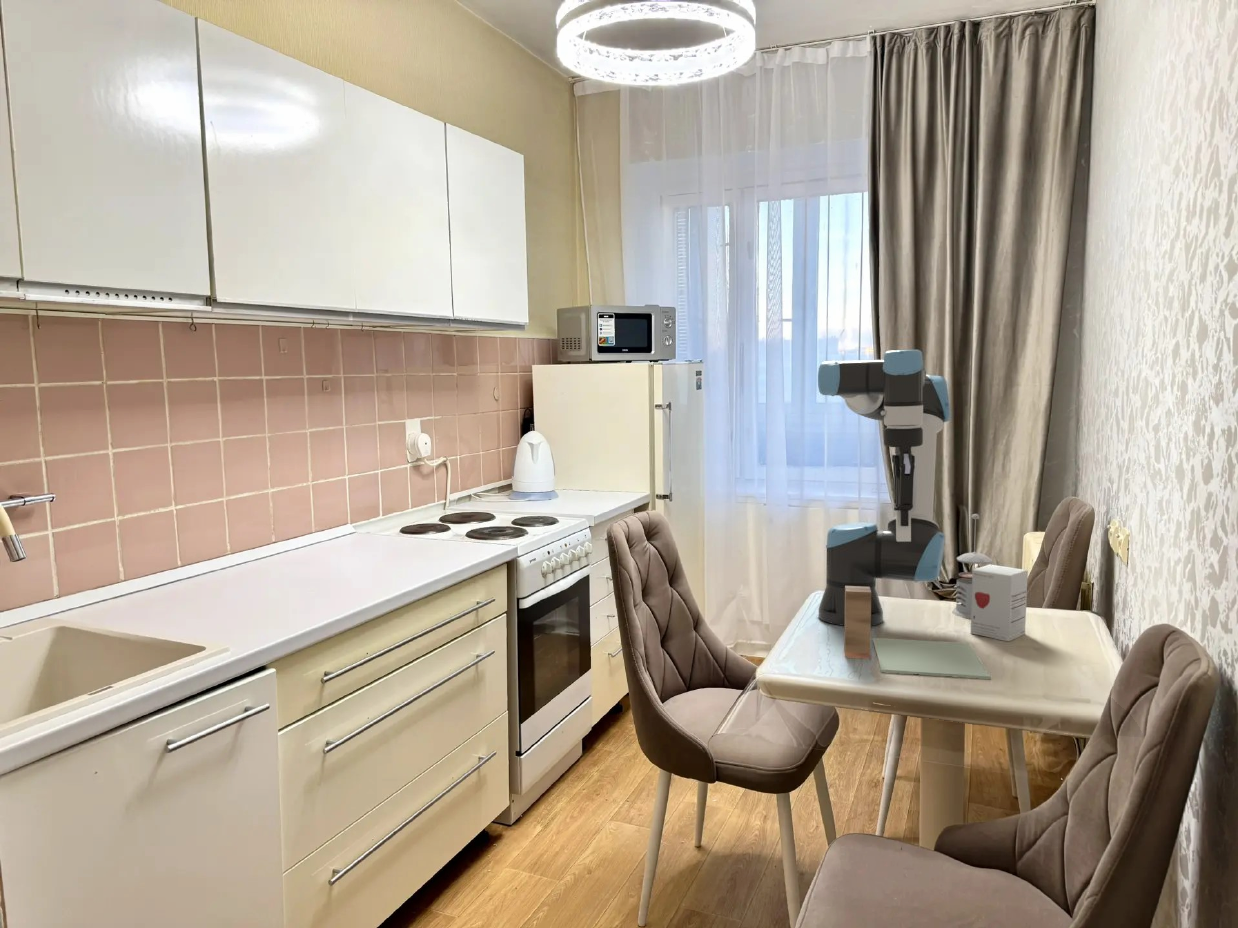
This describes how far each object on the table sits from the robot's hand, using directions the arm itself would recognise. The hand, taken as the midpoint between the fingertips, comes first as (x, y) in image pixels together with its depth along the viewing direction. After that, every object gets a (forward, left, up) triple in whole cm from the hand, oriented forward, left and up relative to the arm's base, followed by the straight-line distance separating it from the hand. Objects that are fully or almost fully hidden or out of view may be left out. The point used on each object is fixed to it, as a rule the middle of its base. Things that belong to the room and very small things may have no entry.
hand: (903, 540), depth 173 cm
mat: (+1, +5, -24) cm, 25 cm away
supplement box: (-21, +23, -25) cm, 40 cm away
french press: (-38, +21, -25) cm, 50 cm away
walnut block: (+1, -9, -24) cm, 26 cm away
